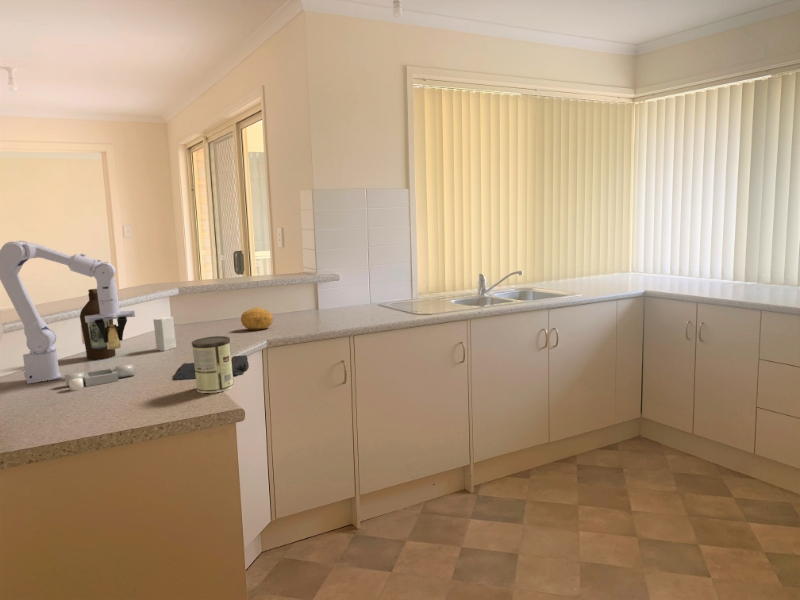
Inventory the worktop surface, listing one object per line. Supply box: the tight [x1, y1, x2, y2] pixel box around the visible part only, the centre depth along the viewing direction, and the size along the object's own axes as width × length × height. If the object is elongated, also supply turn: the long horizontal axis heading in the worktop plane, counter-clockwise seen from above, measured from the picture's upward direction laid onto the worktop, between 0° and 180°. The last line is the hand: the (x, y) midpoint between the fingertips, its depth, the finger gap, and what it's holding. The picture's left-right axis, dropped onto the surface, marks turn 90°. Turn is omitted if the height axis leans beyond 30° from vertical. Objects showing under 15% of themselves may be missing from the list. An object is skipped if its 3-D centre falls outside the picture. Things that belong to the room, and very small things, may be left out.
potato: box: [240, 307, 274, 331], centre depth 260 cm, size 10×13×9 cm
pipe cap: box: [68, 378, 84, 392], centre depth 179 cm, size 4×4×3 cm
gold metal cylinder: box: [105, 323, 122, 350], centre depth 197 cm, size 4×4×8 cm
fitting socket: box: [64, 363, 135, 388], centre depth 187 cm, size 19×9×4 cm, turn 122°
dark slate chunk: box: [173, 354, 250, 381], centre depth 190 cm, size 15×22×5 cm
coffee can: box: [191, 335, 235, 394], centre depth 171 cm, size 10×10×14 cm
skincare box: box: [153, 316, 177, 352], centre depth 228 cm, size 6×4×12 cm
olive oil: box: [79, 288, 116, 360], centre depth 219 cm, size 11×11×25 cm
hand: (113, 341), depth 198 cm, fingers closed on gold metal cylinder, 4 cm apart
